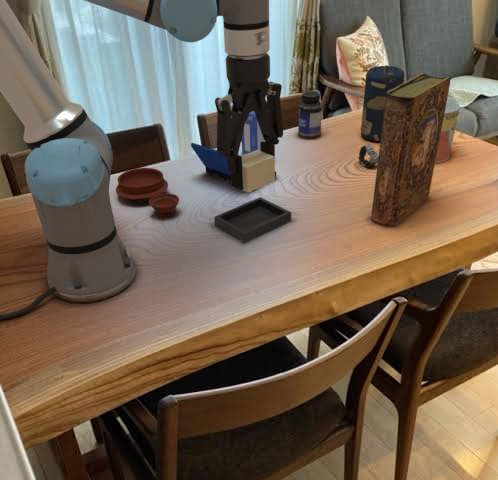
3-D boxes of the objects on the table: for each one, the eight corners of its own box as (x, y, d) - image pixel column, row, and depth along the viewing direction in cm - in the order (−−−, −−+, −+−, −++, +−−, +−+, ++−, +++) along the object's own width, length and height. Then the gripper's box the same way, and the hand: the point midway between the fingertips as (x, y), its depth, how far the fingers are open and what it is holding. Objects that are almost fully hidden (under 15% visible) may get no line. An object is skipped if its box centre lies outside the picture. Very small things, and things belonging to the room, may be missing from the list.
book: (392, 229, 107) (411, 99, 91) (367, 221, 110) (382, 93, 94) (428, 198, 117) (451, 76, 101) (405, 191, 120) (424, 71, 104)
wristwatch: (361, 171, 132) (372, 161, 127) (355, 152, 132) (366, 142, 128) (371, 170, 133) (383, 160, 128) (365, 151, 133) (376, 140, 129)
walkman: (242, 157, 138) (240, 109, 130) (250, 153, 139) (248, 106, 131) (263, 165, 133) (262, 116, 125) (271, 162, 134) (271, 113, 127)
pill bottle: (294, 133, 149) (295, 92, 142) (313, 129, 151) (315, 88, 144) (304, 141, 144) (306, 98, 137) (324, 137, 146) (327, 94, 139)
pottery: (154, 179, 129) (152, 162, 126) (197, 210, 116) (195, 191, 113) (109, 193, 124) (105, 175, 121) (148, 227, 111) (144, 208, 108)
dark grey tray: (244, 243, 105) (244, 234, 104) (214, 225, 111) (214, 216, 110) (291, 220, 111) (291, 212, 110) (260, 205, 117) (260, 196, 116)
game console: (279, 177, 127) (279, 139, 121) (240, 198, 120) (238, 158, 114) (231, 161, 136) (229, 124, 130) (192, 179, 128) (188, 141, 122)
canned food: (447, 166, 129) (457, 115, 122) (399, 160, 133) (407, 111, 125) (451, 148, 137) (462, 100, 130) (406, 143, 141) (414, 96, 133)
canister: (401, 134, 146) (411, 62, 135) (388, 146, 140) (398, 72, 128) (368, 128, 150) (375, 58, 139) (354, 139, 144) (360, 67, 133)
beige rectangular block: (248, 192, 102) (246, 167, 99) (231, 184, 105) (229, 160, 102) (275, 181, 105) (274, 156, 102) (258, 174, 108) (257, 149, 105)
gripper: (214, 70, 83) (224, 205, 98) (305, 46, 93) (302, 171, 108) (186, 62, 88) (200, 191, 103) (275, 39, 98) (276, 161, 112)
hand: (252, 181), depth 105 cm, fingers closed on beige rectangular block, 7 cm apart
